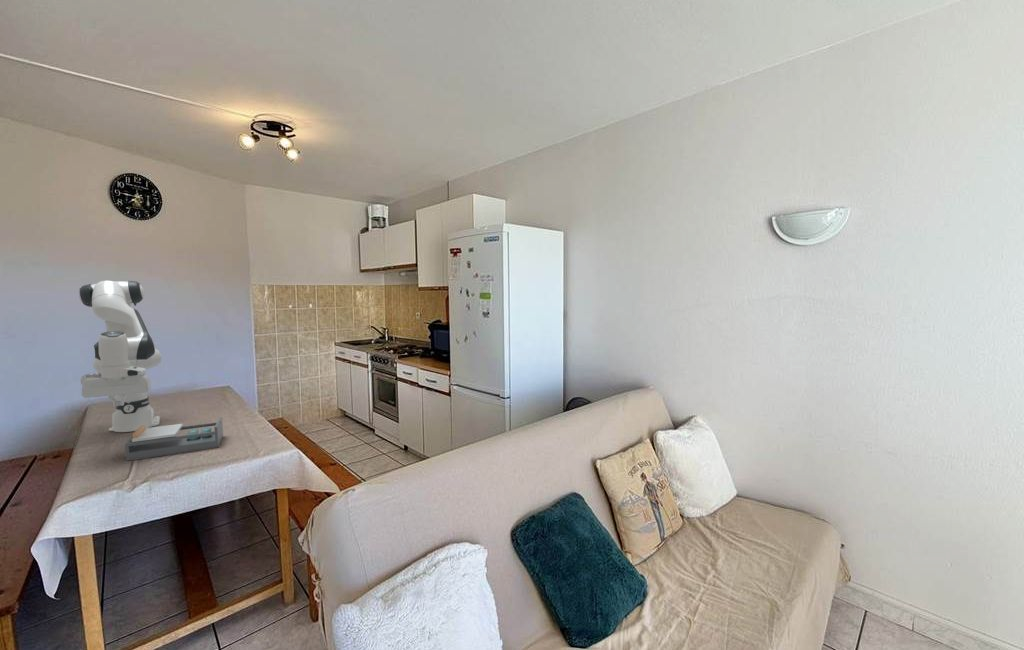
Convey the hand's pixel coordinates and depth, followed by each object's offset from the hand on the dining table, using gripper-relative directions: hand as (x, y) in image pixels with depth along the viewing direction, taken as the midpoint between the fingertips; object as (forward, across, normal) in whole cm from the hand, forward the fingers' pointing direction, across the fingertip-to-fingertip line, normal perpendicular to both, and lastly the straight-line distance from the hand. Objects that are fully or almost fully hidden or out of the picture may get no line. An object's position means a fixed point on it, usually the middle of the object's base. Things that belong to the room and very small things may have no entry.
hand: (118, 405), depth 166 cm
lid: (+14, +12, 0) cm, 18 cm away
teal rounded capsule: (+21, +23, 0) cm, 31 cm away
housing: (+21, +18, 0) cm, 28 cm away
